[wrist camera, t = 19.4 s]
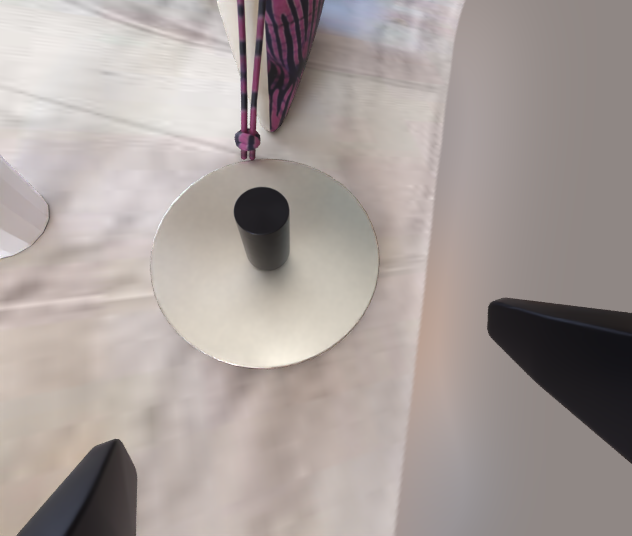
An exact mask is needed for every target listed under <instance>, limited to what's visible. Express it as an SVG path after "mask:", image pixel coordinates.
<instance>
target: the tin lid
mask: <svg viewBox="0 0 632 536" xmlns="http://www.w3.org/2000/svg"><path fill="white" fill-rule="evenodd" d="M150 270H151V282H152V286H153V290H154V294H155V297H156V300H157V302H158V305H159V307H160V309H161V311H162V313H163V314H164V316H165V318H166V319H167V321H168V323H169V324H170V325H171V326H172V327H173V329H174V330H175V331H176V332H177V333H178V334H179V335H180V336H181V337H182V338H183V339H184V340H185V341H186V342H188V343H189V344H190V345H191V346H193V347H194V348H196V349H197V350H199V351H200V352H202V353H203V354H206V355H208V356H210V357H212V358H214V359H216V360H218V361H221V362H224V363H227V364H231V365H234V366H239V367H245V368H251V369H272V368H281V367H287V366H291V365H295V364H299V363H302V362H305V361H307V360H310V359H312V358H314V357H317V356H318V355H320V354H322V353H324V352H325V351H327V350H329V349H330V348H332V347H333V346H334V345H336V344H337V343H338V342H340V341H341V340H342V339H343V338H344V337H345V336H346V335H347V334H348V333H349V332H350V331H351V330H352V329H353V328H354V327H355V326H356V324H357V323H358V322H359V320H360V319H361V318H362V316H363V315H364V313H365V311H366V309H367V308H368V306H369V304H370V302H371V299H372V297H373V294H374V291H375V288H376V284H377V279H378V274H379V248H378V243H377V238H376V235H375V232H374V229H373V226H372V223H371V221H370V219H369V217H368V215H367V213H366V212H365V210H364V209H363V207H362V206H361V204H360V203H359V201H358V200H357V199H356V198H355V197H354V196H353V195H352V193H351V192H350V191H349V190H347V189H346V188H345V187H344V186H343V185H342V184H341V183H339V182H338V181H336V180H335V179H333V178H332V177H331V176H329V175H327V174H325V173H323V172H321V171H319V170H317V169H315V168H312V167H310V166H307V165H304V164H300V163H297V162H292V161H286V160H278V159H256V160H249V161H242V162H238V163H235V164H231V165H228V166H225V167H222V168H220V169H217V170H215V171H213V172H211V173H209V174H207V175H205V176H204V177H202V178H201V179H199V180H198V181H196V182H195V183H193V184H192V185H191V186H190V187H188V188H187V189H186V190H185V191H184V192H183V193H182V194H181V195H180V196H179V197H178V198H177V199H176V200H175V201H174V202H173V204H172V205H171V207H170V208H169V209H168V211H167V212H166V214H165V215H164V217H163V219H162V221H161V223H160V225H159V227H158V230H157V233H156V235H155V238H154V242H153V247H152V251H151V263H150Z"/></svg>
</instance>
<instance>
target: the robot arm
mask: <svg viewBox="0 0 632 536" xmlns="http://www.w3.org/2000/svg"><path fill="white" fill-rule="evenodd" d="M487 330H488V333H489V335H490V337H491V338H492V339H493V340H494V341H495V342H496V343H497V344H498V345H499V346H500V347H501V348H502V349H503V350H504V351H505V352H506V353H507V354H508V355H509V356H510V357H511V358H512V359H513V360H514V361H515V362H516V363H517V364H518V365H519V366H520V367H521V368H522V369H523V370H524V371H525V372H526V373H527V374H528V375H529V376H530V377H531V378H532V379H533V380H534V381H535V382H536V383H537V384H538V385H540V386H541V387H542V388H543V389H544V390H545V391H546V392H548V393H549V394H550V395H551V396H552V397H554V398H555V399H556V400H557V401H558V402H559V403H561V404H562V405H563V406H564V407H565V408H567V409H568V410H569V411H570V412H571V413H572V414H574V415H575V416H576V417H577V418H578V419H580V420H581V421H582V422H583V423H584V424H585V425H587V426H588V427H589V428H590V429H591V430H593V431H594V432H595V433H596V434H597V435H598V436H600V437H601V438H602V439H603V440H604V441H605V442H607V443H608V444H609V445H610V446H612V448H614V449H615V450H616V451H617V452H618V453H620V454H621V455H622V456H623V457H624V458H625V459H627V460H628V461H629V462H630V463H632V313H627V312H618V311H611V310H602V309H594V308H586V307H577V306H570V305H562V304H553V303H545V302H537V301H529V300H520V299H513V298H501V299H498V300H495V301H493V302H491V303H490V305H489V306H488V324H487ZM136 508H137V473H136V469H135V466H134V464H133V462H132V460H131V458H130V456H129V454H128V453H127V451H126V449H125V447H124V445H123V443H122V442H121V441H120V440H119V439H113V440H110V441H108V442H105V443H102V444H99V445H97V446H95V447H94V448H92V450H90V452H89V453H88V454H87V455H86V456H85V457H84V458H83V460H82V461H81V462H80V463H79V464H78V465H77V467H76V468H75V469H74V470H73V471H72V472H71V473H70V475H69V476H68V477H67V478H66V479H65V480H64V481H63V483H62V484H61V485H60V486H59V487H58V488H57V489H56V491H55V492H54V493H53V494H52V495H51V496H50V497H49V499H48V500H47V501H46V502H45V503H44V504H43V505H42V507H41V508H40V509H39V510H38V511H37V512H36V514H35V515H34V516H33V517H32V518H31V519H30V520H29V522H28V523H27V524H26V525H25V526H24V527H23V528H22V530H21V531H20V532H19V533H18V534H17V535H16V536H136Z"/></svg>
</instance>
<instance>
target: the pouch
mask: <svg viewBox="0 0 632 536" xmlns="http://www.w3.org/2000/svg"><path fill="white" fill-rule="evenodd" d="M217 4H218V7H219V11H220V14H221V18H222V21H223V24H224V28H225V31H226V34H227V38H228V41H229V43H230V47H231V50H232V53H233V57H234V59H235V62H236V65H237V68H238V71H239V74H240V77H241V130H240V131H239V132H237V133H236V134H235V142H236V145H237V146H238V147H239V148H240V149H241V158H242V159H243V160H245V159H246V158H247V151H250V155H249V158H250V159H251V160H254V159H255V149H256V148H257V147H258V146H259V145H260V135H259V134H258V132H257V131H256V117H257V116H258V119H259V122H260V125H261V126H262V127H263V128H264V129H265V130H266V131H269V132H272V131H275V130H276V129H277V128H278V127H280V126H281V124H282V122H283V120H284V118H285V116H286V114H287V112H288V110H289V108H290V105H291V103H292V101H293V98H294V96H295V93H296V90H297V88H298V85H299V82H300V79H301V77H302V74H303V71H304V68H305V65H306V62H307V59H308V56H309V53H310V50H311V47H312V43H313V40H314V37H315V34H316V30H317V27H318V23H319V20H320V16H321V12H322V8H323V4H324V0H217ZM247 96H248V98H249V101H250V103H251V113H250V129H249V128H247Z"/></svg>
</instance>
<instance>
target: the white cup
mask: <svg viewBox="0 0 632 536" xmlns="http://www.w3.org/2000/svg"><path fill="white" fill-rule="evenodd" d="M48 220H49V211H48V204H47V203H46V202H45V200H44V199H43V197H42V196H41V195H40V194H39V193H38V192H37V191H36V190H35V189H34V188H33V187H32V186H31V185H30V184H29V183H28V182H27V181H26V180H25V179H24V178H23V177H22V176H21V175H20V174H19V173H18V172H17V171H16V170H15V169H14V168H13V167H12V166H11V165H10V164H9V163H8V162H7V161H6V160H5V159H4V158H3V157H2V156H1V155H0V258H4V257H8V256H12V255H15V254H17V253H19V252H21V251H22V250H24V249H26V248H28V247H29V246H31V245H32V244H33V243H34V242H35V241H36V240H37V239H38V238H39V236H40V235H41V234H42V233H43V232H44V229H45V227H46V225H47V222H48Z"/></svg>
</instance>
